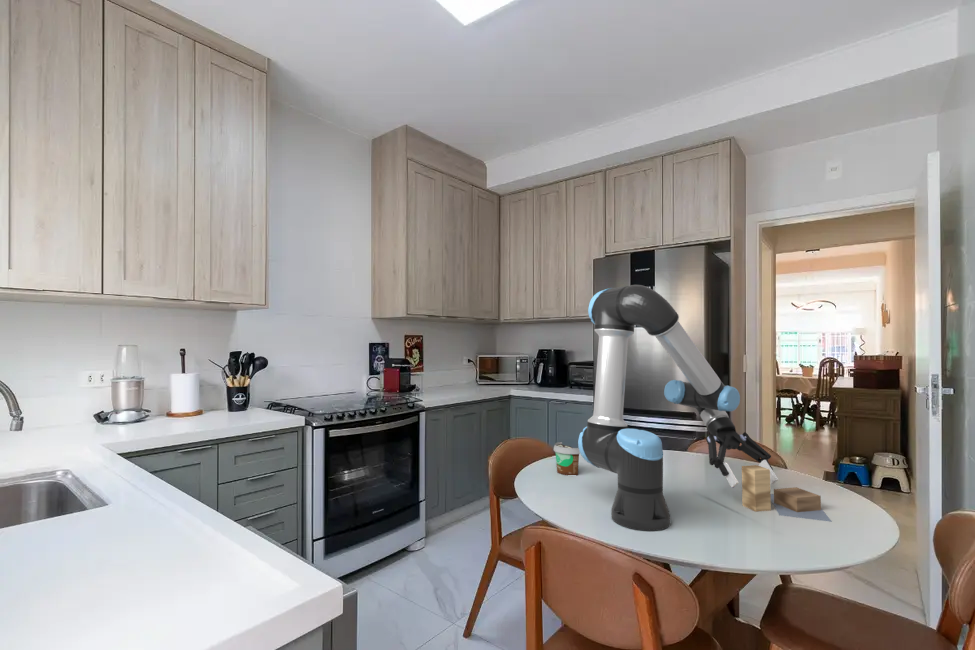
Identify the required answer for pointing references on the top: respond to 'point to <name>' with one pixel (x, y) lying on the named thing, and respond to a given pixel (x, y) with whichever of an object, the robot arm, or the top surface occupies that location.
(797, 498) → the base block
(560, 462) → the food container
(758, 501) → the pillar block
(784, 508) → the blueprint mat
